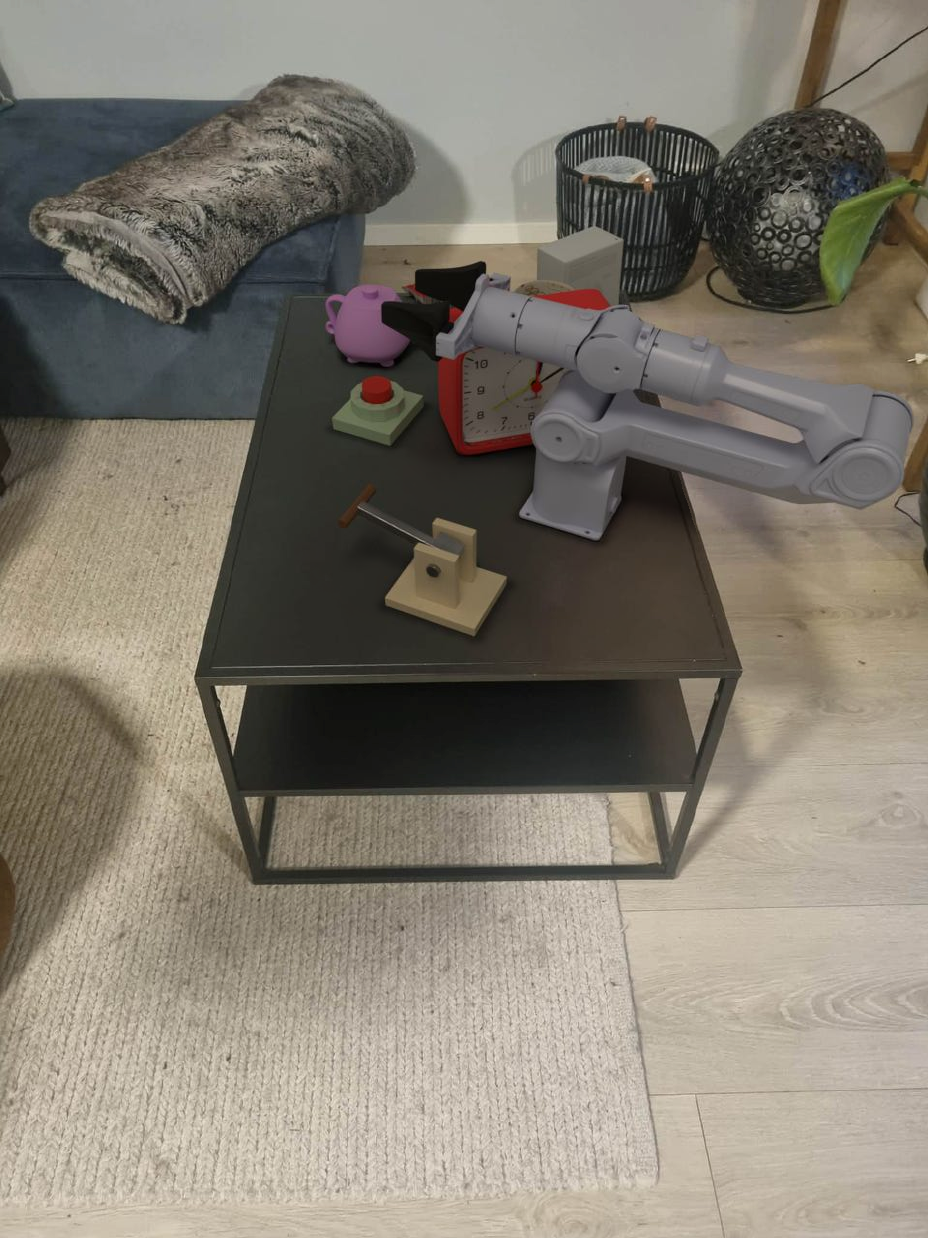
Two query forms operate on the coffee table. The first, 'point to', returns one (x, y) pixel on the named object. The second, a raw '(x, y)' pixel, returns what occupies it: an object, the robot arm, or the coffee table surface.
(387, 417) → the button box
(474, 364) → the alarm clock
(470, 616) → the bracket
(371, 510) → the lever
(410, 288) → the multicoloured jagged piece
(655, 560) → the coffee table surface
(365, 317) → the teapot
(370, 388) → the button
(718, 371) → the robot arm
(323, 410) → the coffee table surface
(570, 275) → the cosmetics box
